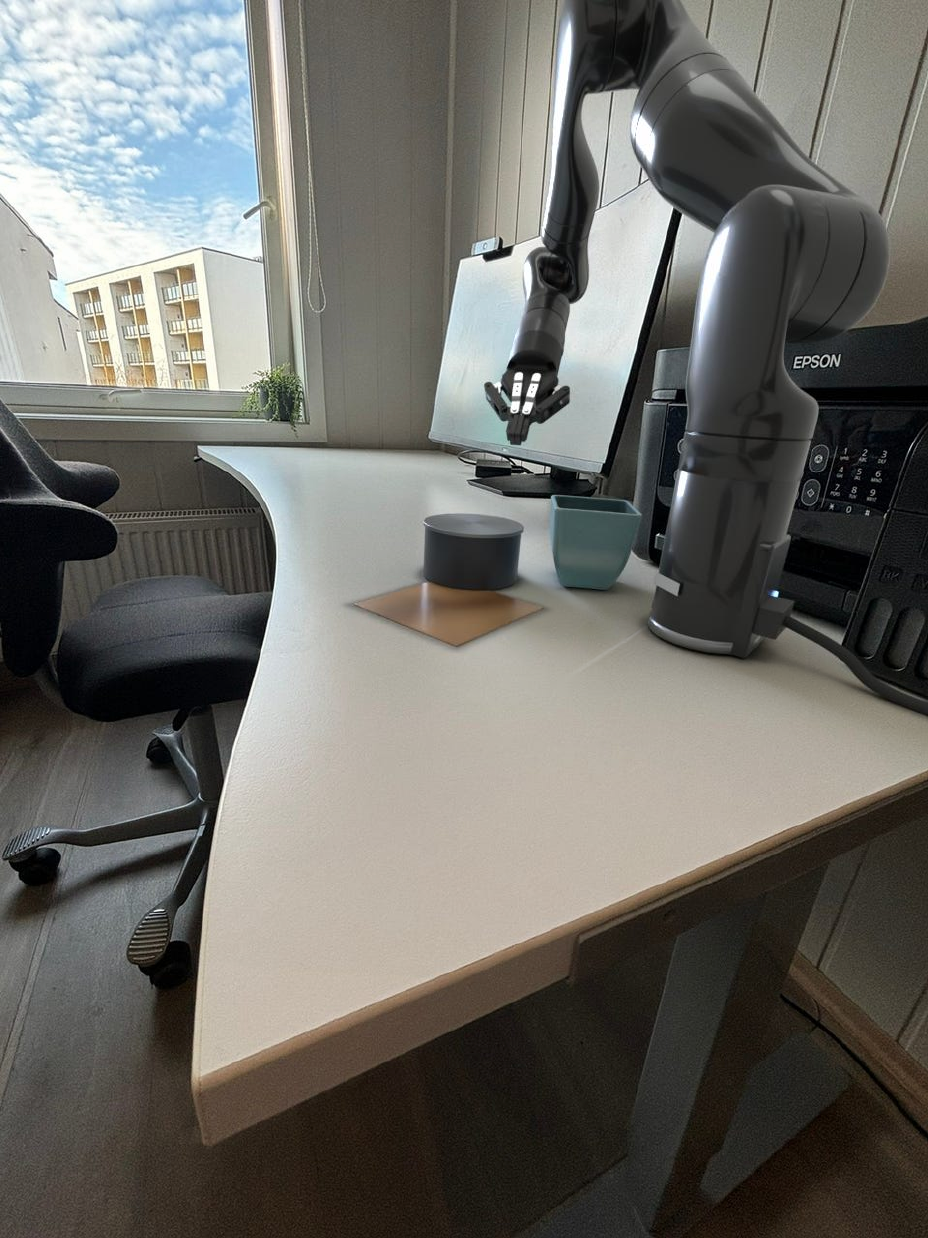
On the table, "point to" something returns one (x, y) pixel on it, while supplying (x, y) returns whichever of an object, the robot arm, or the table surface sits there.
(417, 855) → the table surface
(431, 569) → the round metal tin
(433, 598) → the desk mat
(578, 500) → the flower pot
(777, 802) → the table surface
